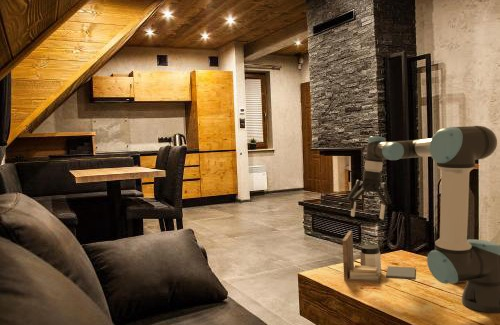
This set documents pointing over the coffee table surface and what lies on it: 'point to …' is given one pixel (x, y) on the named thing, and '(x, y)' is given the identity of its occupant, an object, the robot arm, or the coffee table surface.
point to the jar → (370, 256)
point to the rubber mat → (400, 272)
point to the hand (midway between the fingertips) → (367, 217)
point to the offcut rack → (358, 271)
